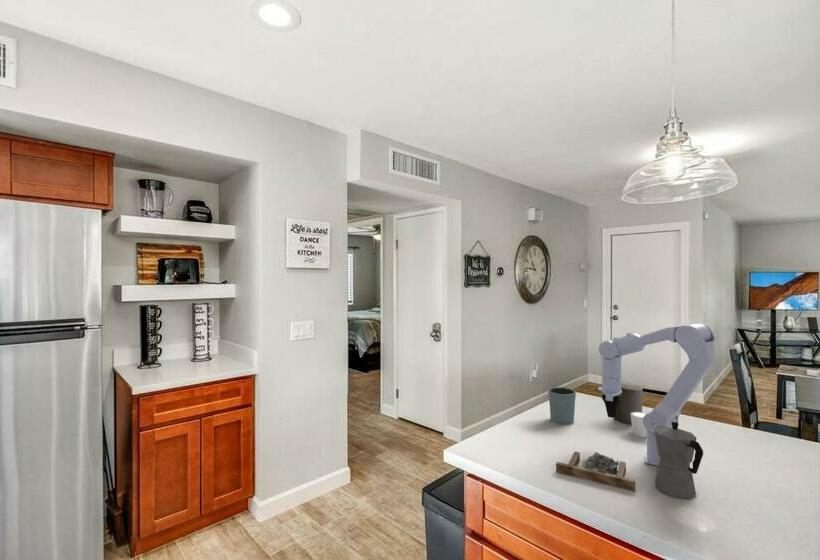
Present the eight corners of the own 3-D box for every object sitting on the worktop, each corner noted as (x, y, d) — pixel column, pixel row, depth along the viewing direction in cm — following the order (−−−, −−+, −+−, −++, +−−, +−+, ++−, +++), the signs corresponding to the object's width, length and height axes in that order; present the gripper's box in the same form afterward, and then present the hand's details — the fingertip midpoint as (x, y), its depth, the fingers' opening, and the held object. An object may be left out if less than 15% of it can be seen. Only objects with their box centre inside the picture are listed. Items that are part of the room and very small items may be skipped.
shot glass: (656, 438, 142) (656, 418, 142) (636, 437, 142) (636, 418, 142) (645, 430, 149) (645, 411, 149) (626, 430, 149) (626, 411, 149)
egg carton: (605, 484, 111) (605, 469, 111) (579, 474, 117) (578, 460, 117) (621, 471, 118) (621, 457, 118) (596, 462, 124) (596, 449, 124)
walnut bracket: (637, 473, 117) (637, 464, 117) (635, 491, 107) (635, 482, 107) (564, 457, 127) (564, 449, 127) (556, 472, 117) (555, 463, 117)
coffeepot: (641, 478, 114) (641, 414, 113) (672, 476, 115) (673, 413, 114) (683, 510, 98) (684, 435, 98) (719, 507, 99) (719, 434, 99)
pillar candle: (611, 421, 158) (612, 383, 158) (616, 414, 166) (617, 378, 166) (640, 427, 153) (641, 387, 152) (644, 419, 160) (644, 382, 160)
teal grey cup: (578, 419, 161) (578, 389, 161) (573, 427, 152) (573, 395, 152) (551, 415, 166) (551, 385, 166) (545, 422, 158) (545, 391, 157)
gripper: (601, 370, 144) (601, 408, 144) (595, 379, 132) (595, 421, 132) (623, 373, 141) (623, 412, 141) (619, 382, 128) (619, 425, 128)
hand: (611, 417), depth 136 cm, fingers closed
